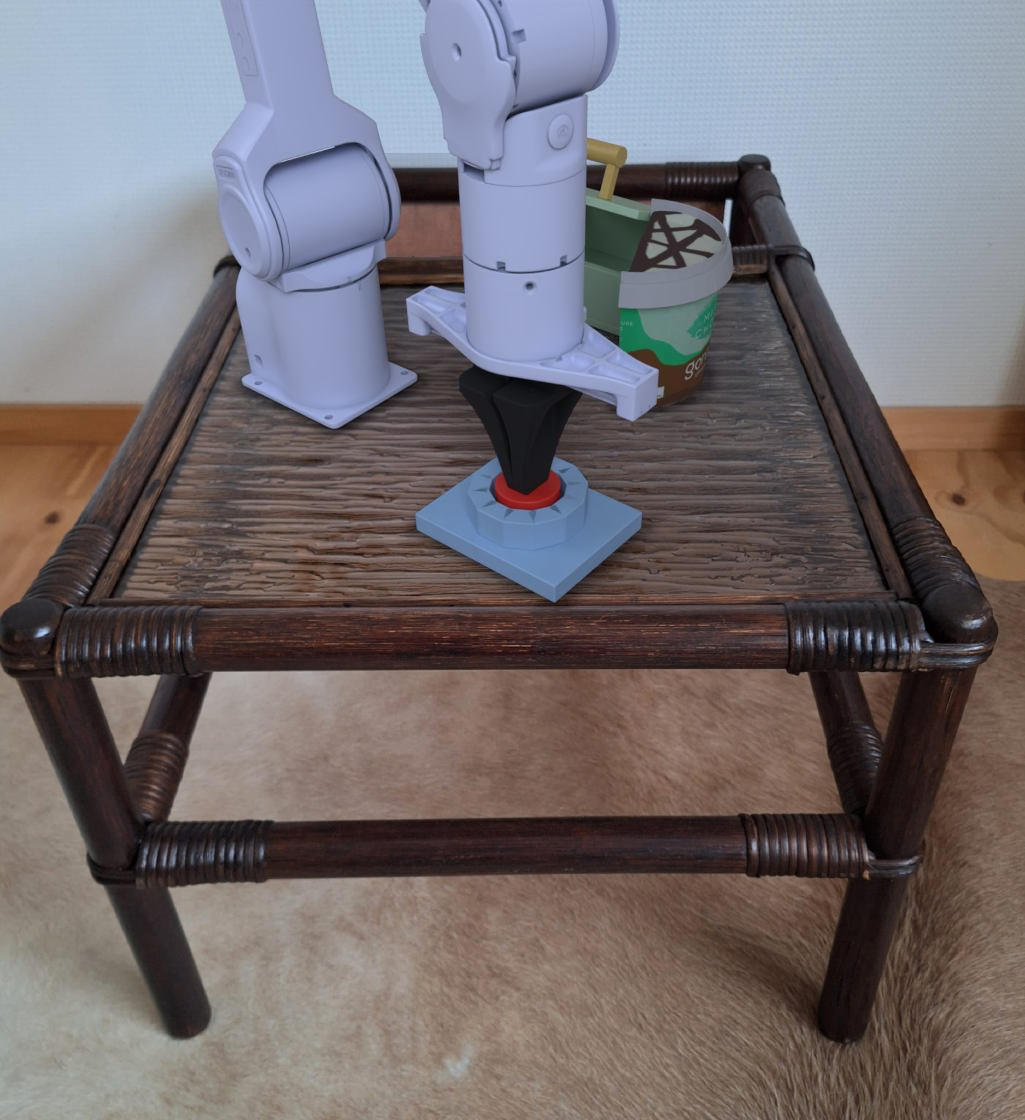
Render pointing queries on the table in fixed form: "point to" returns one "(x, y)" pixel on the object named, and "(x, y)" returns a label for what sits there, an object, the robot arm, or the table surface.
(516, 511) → the switch block
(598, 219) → the chest
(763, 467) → the table surface
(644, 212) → the lid
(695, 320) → the food container
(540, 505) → the button
